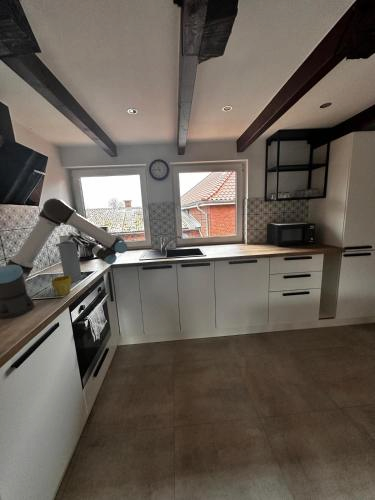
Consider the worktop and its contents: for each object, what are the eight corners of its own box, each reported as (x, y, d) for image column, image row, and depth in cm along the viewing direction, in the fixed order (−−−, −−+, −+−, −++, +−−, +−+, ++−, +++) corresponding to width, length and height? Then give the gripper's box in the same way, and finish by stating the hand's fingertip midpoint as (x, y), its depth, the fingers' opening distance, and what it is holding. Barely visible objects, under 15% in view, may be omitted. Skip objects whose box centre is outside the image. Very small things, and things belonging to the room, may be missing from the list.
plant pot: (51, 298, 118) (48, 282, 116) (57, 291, 128) (54, 276, 126) (70, 295, 121) (68, 279, 119) (75, 289, 131) (72, 274, 129)
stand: (84, 277, 153) (78, 241, 147) (72, 282, 144) (66, 243, 138) (74, 277, 156) (67, 241, 151) (62, 281, 147) (55, 243, 141)
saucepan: (86, 241, 144) (85, 234, 143) (76, 243, 136) (75, 236, 135) (68, 241, 150) (66, 234, 149) (57, 243, 142) (56, 236, 141)
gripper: (85, 256, 132) (59, 238, 136) (102, 251, 145) (77, 235, 150) (88, 246, 129) (61, 229, 133) (105, 242, 143) (80, 226, 147)
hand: (70, 232), depth 141 cm, fingers closed on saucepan, 2 cm apart
